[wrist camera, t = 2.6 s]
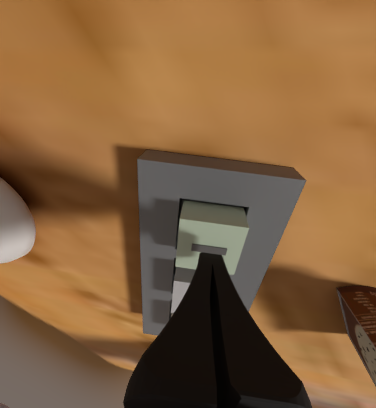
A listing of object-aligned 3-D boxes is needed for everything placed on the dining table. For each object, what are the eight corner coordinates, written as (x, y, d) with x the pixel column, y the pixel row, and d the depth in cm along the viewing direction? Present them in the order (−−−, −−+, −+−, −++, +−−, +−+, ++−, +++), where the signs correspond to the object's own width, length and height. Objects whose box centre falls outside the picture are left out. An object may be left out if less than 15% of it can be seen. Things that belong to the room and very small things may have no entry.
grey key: (218, 295, 20) (219, 321, 18) (174, 289, 20) (170, 313, 18) (227, 265, 18) (229, 289, 16) (178, 258, 18) (173, 281, 16)
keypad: (231, 327, 26) (232, 346, 24) (148, 314, 26) (143, 333, 24) (293, 167, 15) (306, 180, 13) (146, 149, 15) (137, 159, 13)
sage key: (230, 251, 17) (234, 276, 15) (179, 244, 17) (175, 267, 15) (243, 207, 15) (249, 229, 12) (183, 200, 15) (179, 219, 13)
